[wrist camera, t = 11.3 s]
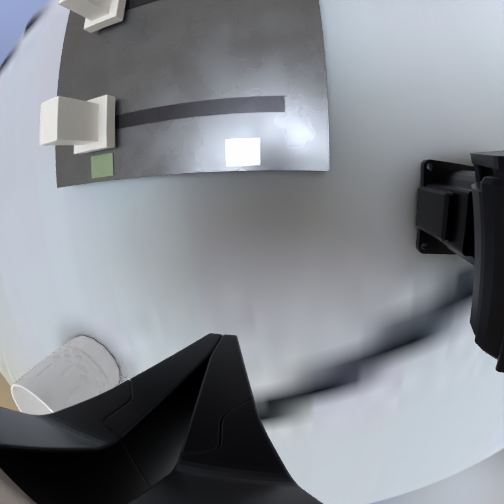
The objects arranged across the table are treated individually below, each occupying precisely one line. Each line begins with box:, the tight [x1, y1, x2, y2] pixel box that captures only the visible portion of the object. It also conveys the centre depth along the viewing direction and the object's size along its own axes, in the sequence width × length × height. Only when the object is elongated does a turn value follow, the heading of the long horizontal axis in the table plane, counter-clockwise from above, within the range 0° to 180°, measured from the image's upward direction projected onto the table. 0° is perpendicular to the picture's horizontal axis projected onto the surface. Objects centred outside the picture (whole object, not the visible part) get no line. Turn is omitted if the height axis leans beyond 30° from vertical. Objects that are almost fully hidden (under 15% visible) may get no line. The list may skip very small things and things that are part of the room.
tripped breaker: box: [40, 95, 115, 154], centre depth 14 cm, size 3×4×5 cm
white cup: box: [11, 335, 120, 415], centre depth 21 cm, size 8×8×10 cm
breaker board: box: [55, 0, 329, 188], centre depth 16 cm, size 20×18×2 cm
